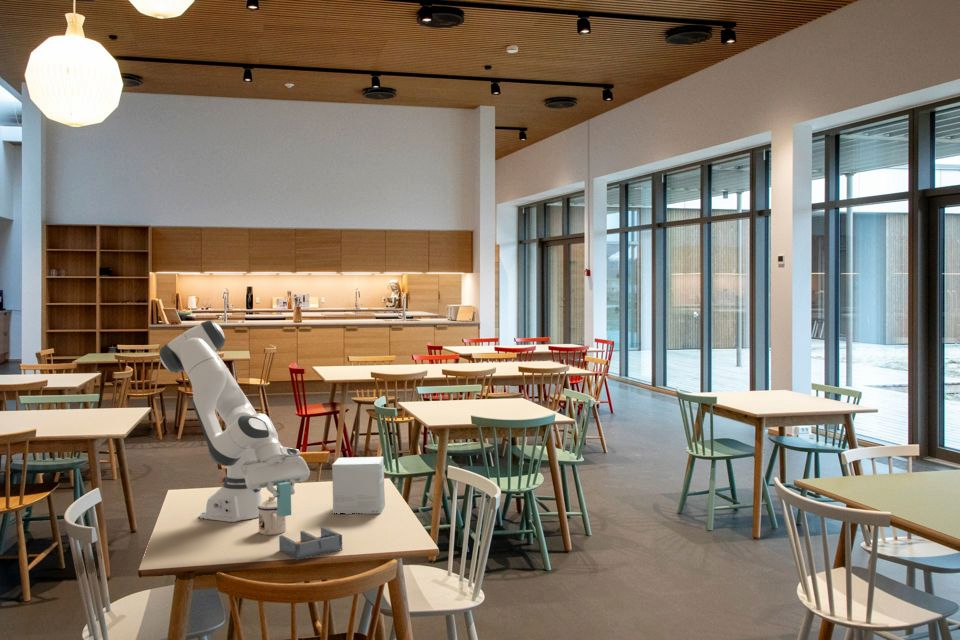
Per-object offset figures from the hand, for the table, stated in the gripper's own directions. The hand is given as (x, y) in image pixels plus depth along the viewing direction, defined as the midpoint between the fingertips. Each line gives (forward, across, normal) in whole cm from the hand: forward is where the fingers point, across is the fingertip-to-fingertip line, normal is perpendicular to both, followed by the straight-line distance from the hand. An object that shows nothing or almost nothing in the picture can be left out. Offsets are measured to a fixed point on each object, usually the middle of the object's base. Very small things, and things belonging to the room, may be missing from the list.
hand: (284, 495), depth 252 cm
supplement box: (-5, +39, +28) cm, 49 cm away
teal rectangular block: (+4, 0, +5) cm, 6 cm away
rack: (+17, +4, +6) cm, 19 cm away
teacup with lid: (0, +3, +23) cm, 24 cm away
